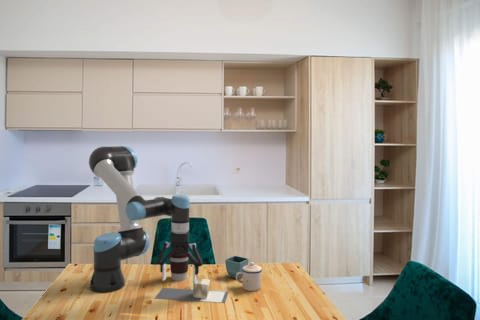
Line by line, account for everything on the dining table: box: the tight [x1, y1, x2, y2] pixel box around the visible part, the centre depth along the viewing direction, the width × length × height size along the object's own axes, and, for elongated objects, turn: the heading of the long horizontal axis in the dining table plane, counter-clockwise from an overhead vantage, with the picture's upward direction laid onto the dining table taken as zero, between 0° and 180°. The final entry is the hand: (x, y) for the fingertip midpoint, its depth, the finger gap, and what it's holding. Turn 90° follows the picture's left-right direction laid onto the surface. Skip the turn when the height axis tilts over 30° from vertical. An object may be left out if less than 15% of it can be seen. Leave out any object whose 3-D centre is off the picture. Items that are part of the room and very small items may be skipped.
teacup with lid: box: [235, 261, 263, 292], centre depth 177 cm, size 12×9×12 cm
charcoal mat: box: [153, 287, 230, 304], centre depth 166 cm, size 30×12×1 cm, turn 84°
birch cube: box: [192, 277, 211, 299], centre depth 166 cm, size 6×6×6 cm
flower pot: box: [224, 255, 250, 280], centre depth 191 cm, size 9×9×9 cm
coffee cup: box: [168, 250, 190, 282], centre depth 186 cm, size 10×10×15 cm
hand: (179, 280), depth 166 cm, fingers open, 13 cm apart
